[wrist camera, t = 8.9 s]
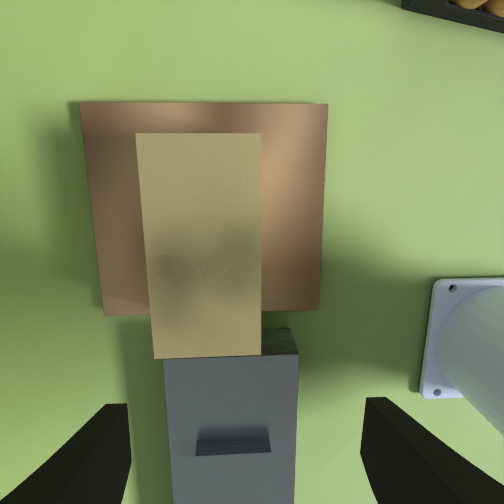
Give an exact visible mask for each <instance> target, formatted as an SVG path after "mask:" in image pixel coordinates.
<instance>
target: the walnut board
mask: <svg viewBox="0 0 504 504" xmlns="http://www.w3.org/2000/svg"><path fill="white" fill-rule="evenodd" d="M79 106H80V114H81V123H82V131H83V140H84V149H85V157H86V166H87V174H88V183H89V192H90V200H91V209H92V217H93V226H94V234H95V243H96V252H97V260H98V269H99V277H100V286H101V295H102V303H103V312H104V316H120V315H150V303H149V291H148V279H147V267H146V255H145V243H144V231H143V219H142V207H141V195H140V184H139V172H138V160H137V148H136V136H135V133H261V311H294V310H318V306H319V285H320V264H321V244H322V223H323V203H324V182H325V161H326V141H327V120H328V104H293V103H169V102H79Z"/></svg>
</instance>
